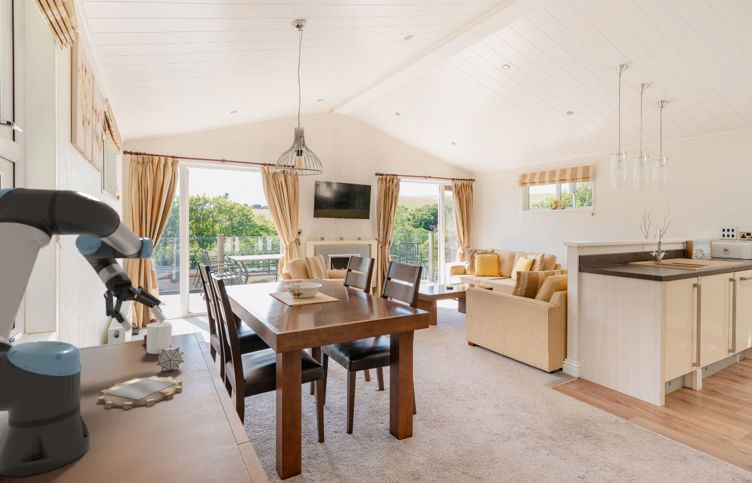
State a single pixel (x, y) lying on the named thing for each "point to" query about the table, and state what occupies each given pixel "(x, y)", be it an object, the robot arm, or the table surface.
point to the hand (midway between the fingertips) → (147, 325)
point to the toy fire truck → (146, 335)
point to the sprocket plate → (140, 392)
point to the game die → (170, 358)
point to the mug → (159, 337)
